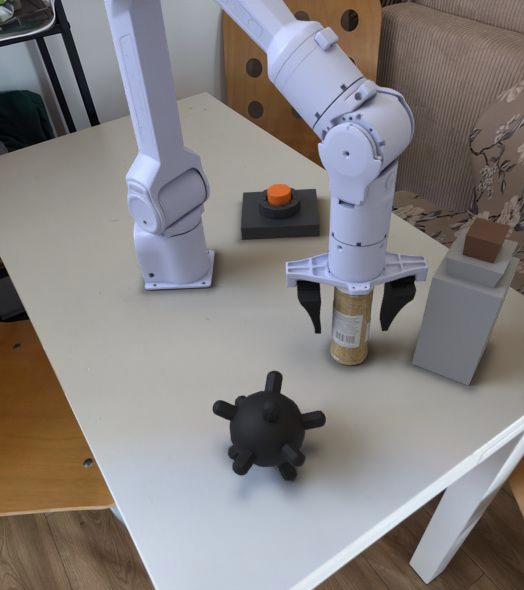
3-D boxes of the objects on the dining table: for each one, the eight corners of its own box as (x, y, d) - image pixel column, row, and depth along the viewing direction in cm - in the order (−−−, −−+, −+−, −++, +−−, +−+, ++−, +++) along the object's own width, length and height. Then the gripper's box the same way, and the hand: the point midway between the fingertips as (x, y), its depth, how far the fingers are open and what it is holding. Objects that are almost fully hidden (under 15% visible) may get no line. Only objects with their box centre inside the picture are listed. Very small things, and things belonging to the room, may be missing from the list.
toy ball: (295, 368, 59) (364, 422, 50) (253, 447, 60) (313, 513, 51) (221, 344, 52) (286, 402, 43) (177, 433, 54) (230, 507, 45)
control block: (242, 240, 80) (239, 217, 77) (244, 203, 87) (242, 182, 84) (319, 236, 80) (320, 214, 77) (315, 200, 86) (316, 178, 83)
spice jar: (374, 351, 63) (387, 265, 53) (350, 373, 61) (359, 287, 51) (345, 333, 66) (352, 247, 56) (321, 353, 64) (324, 268, 54)
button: (267, 207, 80) (267, 197, 78) (267, 194, 82) (267, 184, 81) (291, 205, 79) (290, 195, 78) (290, 193, 82) (290, 183, 80)
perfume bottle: (468, 385, 59) (516, 261, 46) (412, 363, 62) (441, 240, 48) (486, 347, 63) (534, 221, 49) (431, 328, 65) (464, 203, 52)
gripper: (285, 258, 48) (289, 354, 58) (444, 250, 47) (419, 349, 57) (283, 214, 53) (287, 310, 63) (428, 207, 52) (408, 305, 62)
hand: (350, 326), depth 60 cm, fingers open, 7 cm apart
